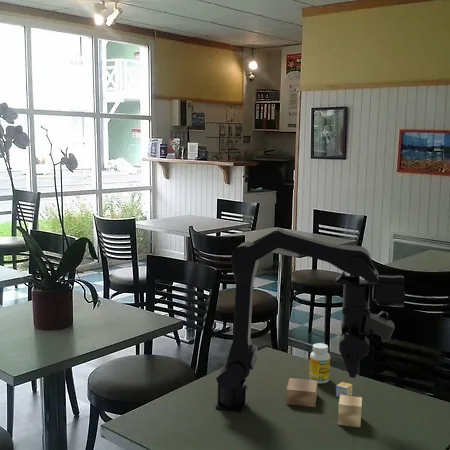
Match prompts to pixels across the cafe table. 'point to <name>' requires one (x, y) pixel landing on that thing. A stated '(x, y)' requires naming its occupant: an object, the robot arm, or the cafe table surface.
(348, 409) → the maple cube
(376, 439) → the cafe table surface
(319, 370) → the supplement bottle
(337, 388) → the alphabet block
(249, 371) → the robot arm
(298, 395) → the walnut base block
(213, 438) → the cafe table surface
